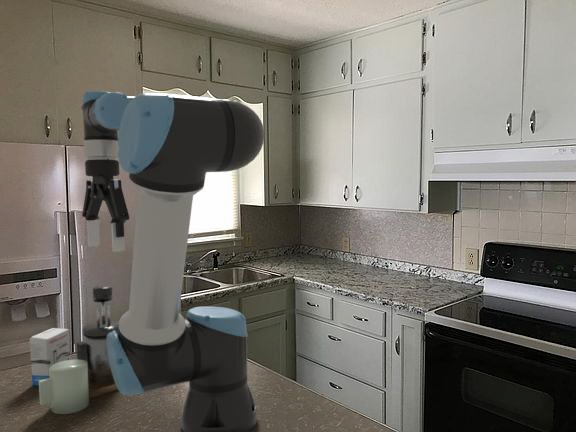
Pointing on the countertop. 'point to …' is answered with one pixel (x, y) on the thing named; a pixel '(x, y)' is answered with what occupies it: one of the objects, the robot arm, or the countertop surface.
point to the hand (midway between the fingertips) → (105, 248)
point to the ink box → (48, 352)
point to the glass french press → (98, 355)
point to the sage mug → (66, 387)
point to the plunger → (102, 298)
